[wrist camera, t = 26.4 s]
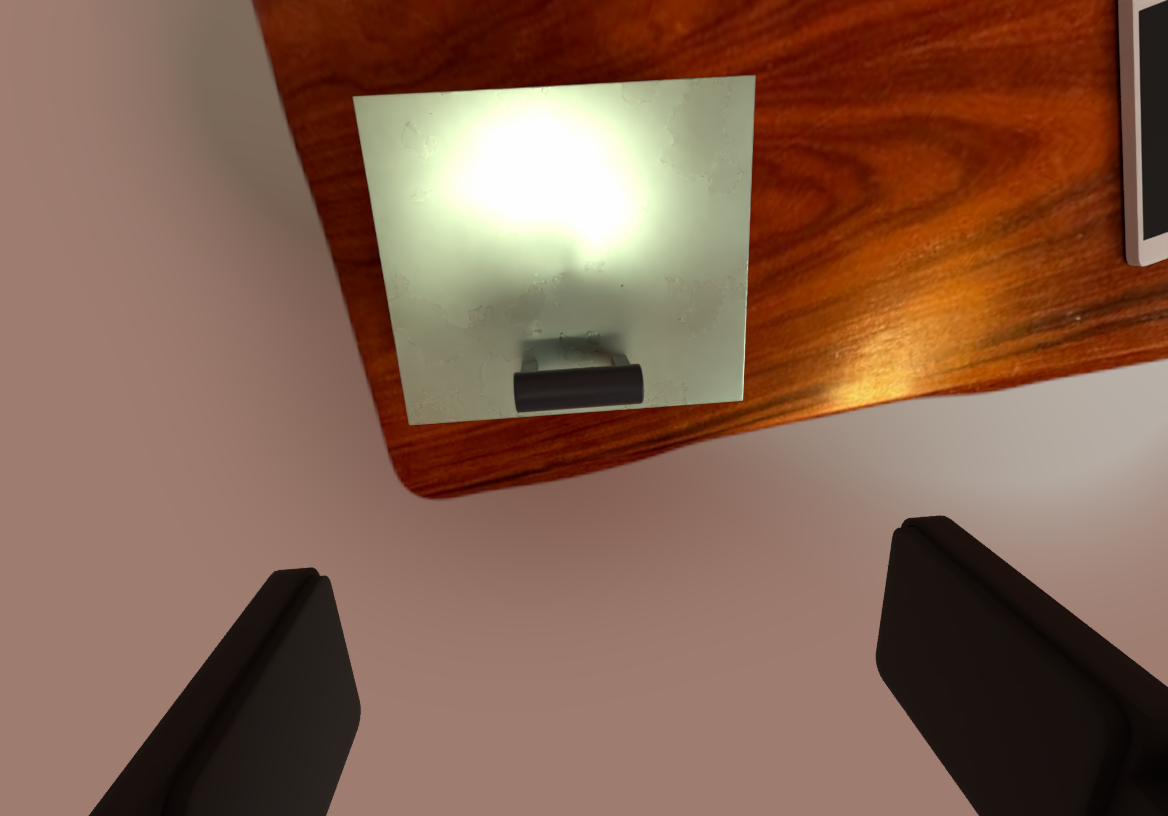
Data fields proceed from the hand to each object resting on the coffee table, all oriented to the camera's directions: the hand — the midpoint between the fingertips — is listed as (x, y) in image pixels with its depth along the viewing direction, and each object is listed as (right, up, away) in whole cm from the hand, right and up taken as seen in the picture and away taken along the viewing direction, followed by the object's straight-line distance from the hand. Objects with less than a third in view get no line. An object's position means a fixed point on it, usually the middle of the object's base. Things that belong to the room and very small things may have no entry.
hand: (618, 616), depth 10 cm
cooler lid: (-1, +10, +16) cm, 18 cm away
